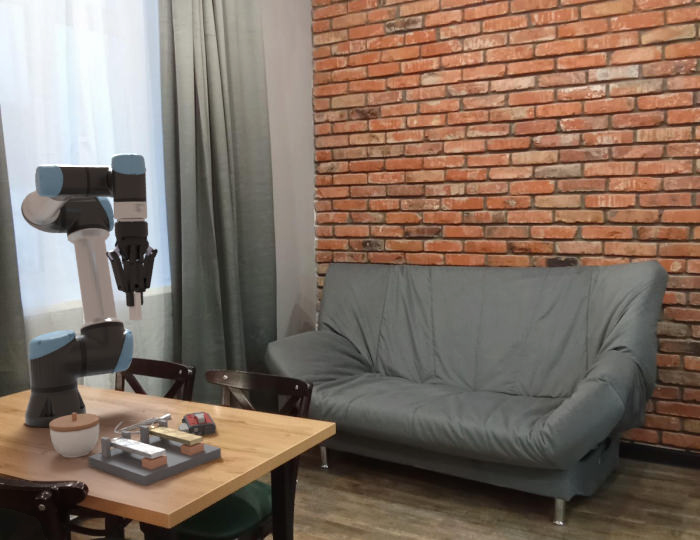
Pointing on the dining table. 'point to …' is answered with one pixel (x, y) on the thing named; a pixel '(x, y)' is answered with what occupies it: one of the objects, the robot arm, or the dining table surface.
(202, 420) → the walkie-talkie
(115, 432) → the crossbow
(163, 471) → the mount plate
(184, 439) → the brass strap
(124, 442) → the steel strap
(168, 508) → the dining table surface
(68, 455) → the lidded jar
